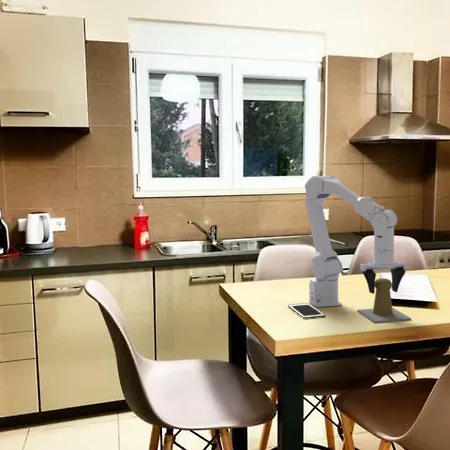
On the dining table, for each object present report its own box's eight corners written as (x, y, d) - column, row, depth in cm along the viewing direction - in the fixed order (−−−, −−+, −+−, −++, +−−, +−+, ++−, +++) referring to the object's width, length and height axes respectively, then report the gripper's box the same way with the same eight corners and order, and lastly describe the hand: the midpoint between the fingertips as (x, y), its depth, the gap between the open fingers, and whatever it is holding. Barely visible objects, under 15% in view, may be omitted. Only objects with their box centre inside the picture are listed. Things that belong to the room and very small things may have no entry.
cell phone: (308, 305, 164) (308, 302, 164) (326, 318, 150) (326, 315, 150) (287, 307, 163) (287, 304, 163) (303, 320, 148) (303, 317, 148)
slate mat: (373, 323, 143) (374, 321, 143) (357, 311, 155) (357, 309, 155) (411, 319, 145) (411, 318, 144) (391, 308, 156) (391, 307, 156)
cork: (376, 309, 155) (377, 276, 153) (395, 312, 151) (395, 278, 150) (369, 313, 150) (370, 279, 149) (389, 317, 146) (389, 282, 145)
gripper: (367, 252, 142) (367, 296, 144) (412, 250, 144) (411, 293, 146) (357, 248, 149) (357, 291, 151) (400, 246, 151) (400, 288, 153)
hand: (383, 292), depth 149 cm, fingers open, 7 cm apart
